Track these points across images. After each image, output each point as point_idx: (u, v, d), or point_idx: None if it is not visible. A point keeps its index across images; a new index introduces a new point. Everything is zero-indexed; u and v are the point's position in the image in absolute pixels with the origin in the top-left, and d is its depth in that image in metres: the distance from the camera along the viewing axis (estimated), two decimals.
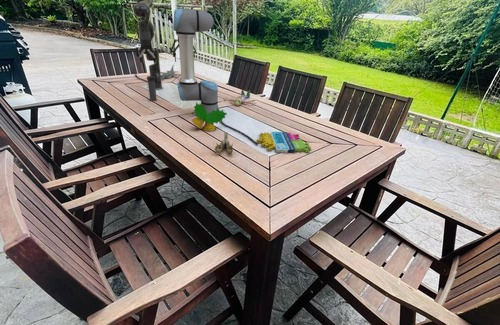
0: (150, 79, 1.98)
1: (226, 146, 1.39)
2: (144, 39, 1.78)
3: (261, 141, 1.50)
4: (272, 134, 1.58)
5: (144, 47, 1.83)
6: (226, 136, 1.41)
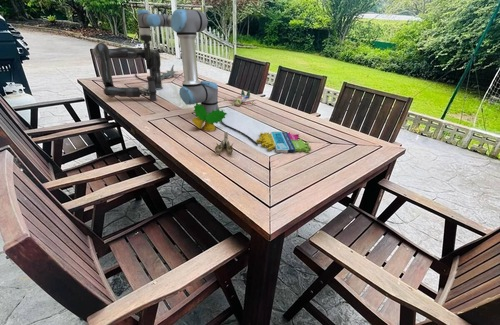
0: (150, 79, 1.98)
1: (226, 146, 1.39)
2: None
3: (261, 141, 1.50)
4: (272, 134, 1.58)
5: None
6: (226, 136, 1.41)
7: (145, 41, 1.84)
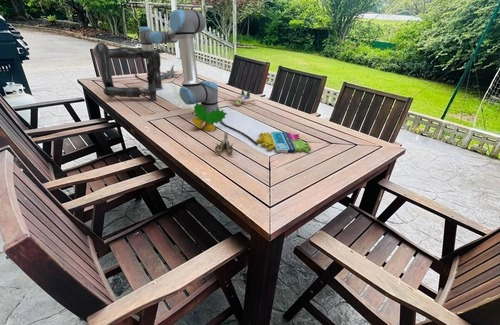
0: None
1: (226, 146, 1.39)
2: None
3: (261, 141, 1.50)
4: (272, 134, 1.58)
5: None
6: (226, 136, 1.41)
7: (147, 57, 1.89)
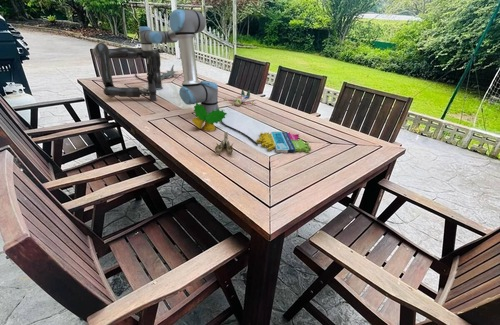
0: (154, 78, 2.02)
1: (226, 146, 1.39)
2: None
3: (261, 141, 1.50)
4: (272, 134, 1.58)
5: None
6: (226, 136, 1.41)
7: (147, 57, 1.89)
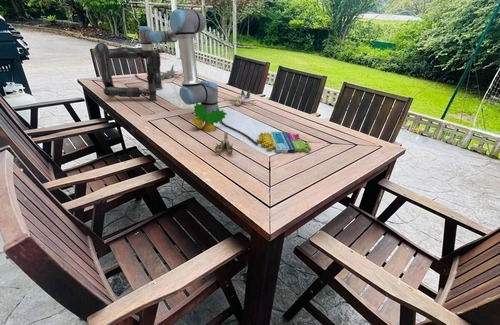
0: None
1: (226, 146, 1.39)
2: None
3: (261, 141, 1.50)
4: (272, 134, 1.58)
5: None
6: (226, 136, 1.41)
7: (147, 56, 1.89)
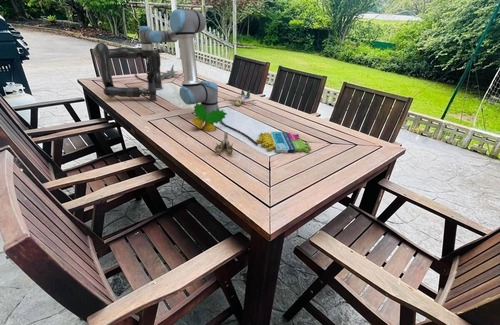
0: (147, 78, 1.98)
1: (226, 146, 1.39)
2: None
3: (261, 141, 1.50)
4: (272, 134, 1.58)
5: None
6: (226, 136, 1.41)
7: (147, 56, 1.89)
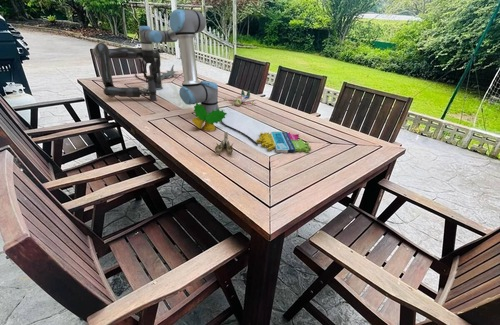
0: (153, 78, 1.99)
1: (226, 146, 1.39)
2: None
3: (261, 141, 1.50)
4: (272, 134, 1.58)
5: None
6: (226, 136, 1.41)
7: None
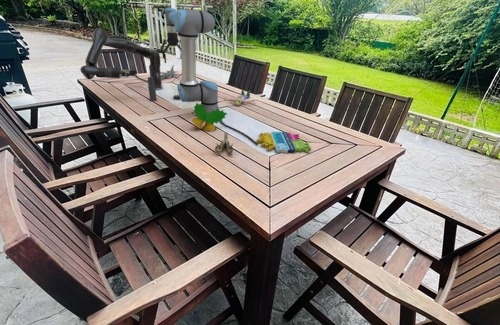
0: (179, 98, 2.15)
1: (226, 146, 1.39)
2: None
3: (261, 141, 1.50)
4: (272, 134, 1.58)
5: None
6: (226, 136, 1.41)
7: (177, 38, 1.95)
